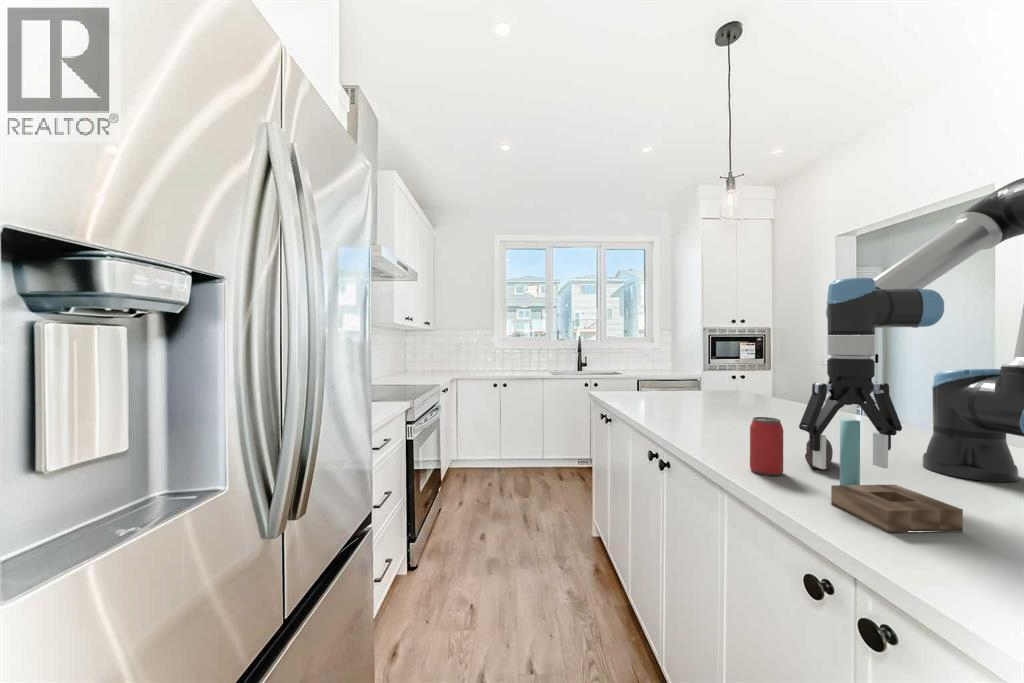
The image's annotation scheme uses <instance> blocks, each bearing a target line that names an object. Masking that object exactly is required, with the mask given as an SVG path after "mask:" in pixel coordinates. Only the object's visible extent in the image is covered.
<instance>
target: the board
mask: <svg viewBox="0 0 1024 683" xmlns="http://www.w3.org/2000/svg"><path fill="white" fill-rule="evenodd" d="M830 492H831V495H830V497H831V498H830V502H831V503H830V504H831V506H834V507H836V508H838V509H839V510H841V511H844V512H845V513H847V512H848V513H847V514H850V515H851V516H853V515H854V516H853V517H855V516H856V517H855V518H857V517H858V518H857V519H859V518H860V519H859V520H861V519H862V520H861V521H863V520H864V521H863V522H865V521H866V522H865V523H867V522H868V523H867V524H869V523H870V525H871V524H872V525H871V526H873V525H874V526H873V527H875V526H876V528H877V527H878V528H877V529H879V528H880V529H879V530H881V529H882V530H881V531H883V530H884V531H883V532H885V531H886V532H885V533H887V532H908V531H963V529H964V527H963V525H964V523H963V520H964V519H963V517H964V514H963V513H964V509H963V508H960V507H957V506H954V505H951V504H949V503H947V502H943V501H940V500H938V499H936V498H933V497H930V496H927V495H924V494H923V493H920V492H917V491H914V490H912V489H911V490H910V489H908V488H905V487H902V486H901V485H897V484H860V485H840V484H839V485H838V484H837V485H835V484H833V485H832V484H831V491H830Z"/></svg>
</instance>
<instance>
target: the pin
mask: <svg viewBox="0 0 1024 683" xmlns="http://www.w3.org/2000/svg"><path fill="white" fill-rule="evenodd" d="M839 485H861V420H858V419H853V418H840V420H839Z"/></svg>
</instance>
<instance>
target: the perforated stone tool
mask: <svg viewBox="0 0 1024 683" xmlns="http://www.w3.org/2000/svg"><path fill="white" fill-rule="evenodd" d="M805 445H806V447H805V449H806V453H805V454H804V458H805V460H806V463H807V465H808V466H809V467H811V468H813V469H816V470H822V469H821V468H818V467H816V466H813V450H811V449H810V447H809V439H808V440H807V442H806V444H805ZM833 454H834V453H833V445H832V443H831V442H830V441H829V439H828V438H826V469H827V468H829V467H830V465H831V463H832V460H833V456H834V455H833Z"/></svg>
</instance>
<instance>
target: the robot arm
mask: <svg viewBox="0 0 1024 683" xmlns="http://www.w3.org/2000/svg"><path fill="white" fill-rule="evenodd" d="M951 222H952V223H951V226H949V227H948V228H946V229H945V230H944V231H942V232H941V233H939V234H937V235H936V236H935V237H933V238H932V239H931V240H928V241H927V242H926V243H924V244H923V245H921V246H920V247H918V248H917V249H915V250H914V251H912V252H911V253H909V254H908V255H907V256H905V257H904V258H902V259H901V260H899V261H897V263H895V264H894V265H892V266H890V267H889V268H888V269H886V270H885V271H883V272H882V273H879V275H876V276H875V277H874V278H872V277H849V278H841V279H836V280H833V281H831V282H830V283H829V284H828V287H827V288H828V289H827V299H826V309H825V315H826V318H827V355H828V356H830V357H828V359H827V360H826V361H827V362H826V363H827V364H826V366H827V367H826V374H827V376H828V378H829V379H828V382H827V383H822V382H813V383H812V387H811V395H810V397H809V400H808V403H807V405H806V408H805V410H804V412H803V415H802V417H801V420H800V422H799V425H798V428H799V429H800V430H801V431H804V432H806V433H808V436H809V439H808V440H809V447H810V449H811V450H813V466H816V467H818V468H821V469H820V470H827V468H826V439H827V435H825V434H823V432H825V430H826V428H827V427H828V426H829V424H830V423H831V421H832V420H833V418H834V417H835V416H836V414H837V413H838V411H839V410H840V409H841V408H843V407H845V406H851V405H857V406H859V407H860V408H861V409H862V411H863V412H864V414H865V415H866V416H867V418H868V419H869V422H871V424H872V425H873V426H874V428H875V429H876V431H877V432H872V465H874V466H877V467H879V468H882V469H889V451H891V448H892V436H896V435H897V432H900V431H902V430H903V427H902V424H901V421H900V418H899V417H898V413H897V411H896V408H895V406H894V404H893V400H892V398H891V396H890V385H889V383H887V382H877V381H875V382H873V380H872V379H873V378H875V376H876V375H875V373H876V370H875V369H876V368H875V362H876V361H875V360H874V359H873V358H872V357H874V356H875V355H876V341H875V340H876V337H875V335H876V328H877V329H878V328H879V329H881V328H912V329H914V328H915V329H918V328H924V327H925V328H926V327H931V326H933V325H936V324H937V323H938V322H940V320H941V319H942V317H943V315H944V313H945V301H944V298H943V296H942V295H941V294H940V293H939V292H937V291H936V290H933V289H931V288H930V289H928V288H926V287H927V286H928V285H930V284H932V283H933V282H934V281H937V279H939V278H940V277H942V276H943V275H945V274H947V273H948V272H950V271H951V270H952V269H954V268H956V267H957V266H959V265H961V263H963V262H964V261H966V260H968V259H969V258H970V257H972V256H974V255H975V254H976V253H979V251H981V250H990V249H992V248H995V247H996V246H998V245H999V244H1001V243H1003V242H1004V241H1006V240H1008V239H1012V238H1015V237H1018V236H1022V235H1024V177H1022V178H1019V179H1016V180H1014V181H1011V182H1010V183H1008V184H1006V185H1004V186H1001V187H1000V188H998V189H997V190H995V191H993V192H992V193H990V194H988V195H987V196H985V197H984V198H982V199H981V200H979V201H978V202H976V203H974V204H973V205H972V206H970V207H968V208H967V209H966V210H964V211H963V212H961V213H960V214H959V215H957V216H956V217H955V218H954V219H953V221H951ZM931 389H932V425H933V426H932V436H931V438H930V440H929V441H928V442H929V443H928V445H927V449H926V452H924V453H923V455H922V466H923V467H924V468H925V469H927V470H930V471H932V472H935V473H939V474H943V475H946V476H950V477H955V478H962V479H967V480H968V479H969V480H975V481H981V482H994V483H1011V482H1012V483H1013V482H1016V481H1019V468H1018V467H1017V465H1016V464H1015V461H1014V458H1013V455H1012V452H1011V451H1010V447H1009V446H1008V442H1007V435H1013V436H1017V437H1023V438H1024V304H1023V306H1022V311H1021V316H1020V322H1019V328H1018V334H1017V337H1016V345H1015V348H1014V355H1013V357H1012V359H1011V360H1009V361H1007V362H1005V363H1002V364H1001V365H1000V368H984V369H983V368H976V369H975V368H974V369H973V368H971V369H948V370H940V371H938V372H937V373H935V375H934V377H933V386H932V387H931ZM827 394H829V395H828V397H827ZM871 394H873V397H872V395H871Z"/></svg>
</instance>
